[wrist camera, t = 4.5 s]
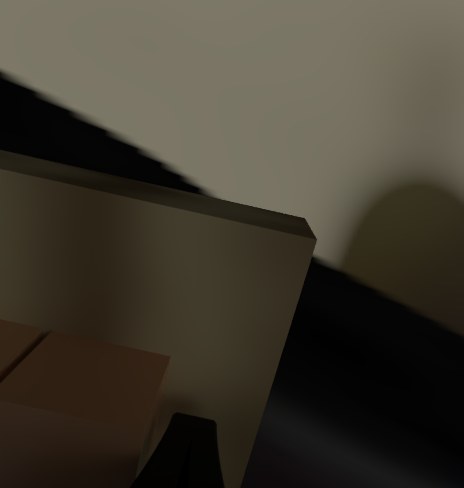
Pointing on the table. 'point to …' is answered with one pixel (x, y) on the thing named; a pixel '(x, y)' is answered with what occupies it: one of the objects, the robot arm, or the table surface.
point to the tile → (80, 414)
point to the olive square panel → (157, 284)
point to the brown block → (16, 344)
